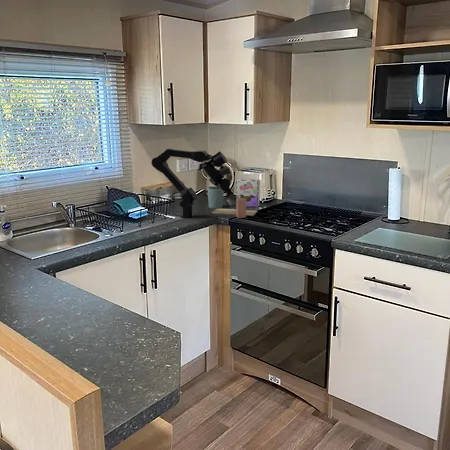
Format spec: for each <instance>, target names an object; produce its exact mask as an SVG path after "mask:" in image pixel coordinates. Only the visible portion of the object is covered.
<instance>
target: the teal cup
mask: <svg viewBox="0 0 450 450" xmlns="http://www.w3.org/2000/svg"><path fill="white" fill-rule="evenodd" d="M224 193H225V191H223V190H221V189H220V188H218V187H217V186H215V185H213V186H208V187H207V199H208V208H210V209H223V206H224Z"/></svg>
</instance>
